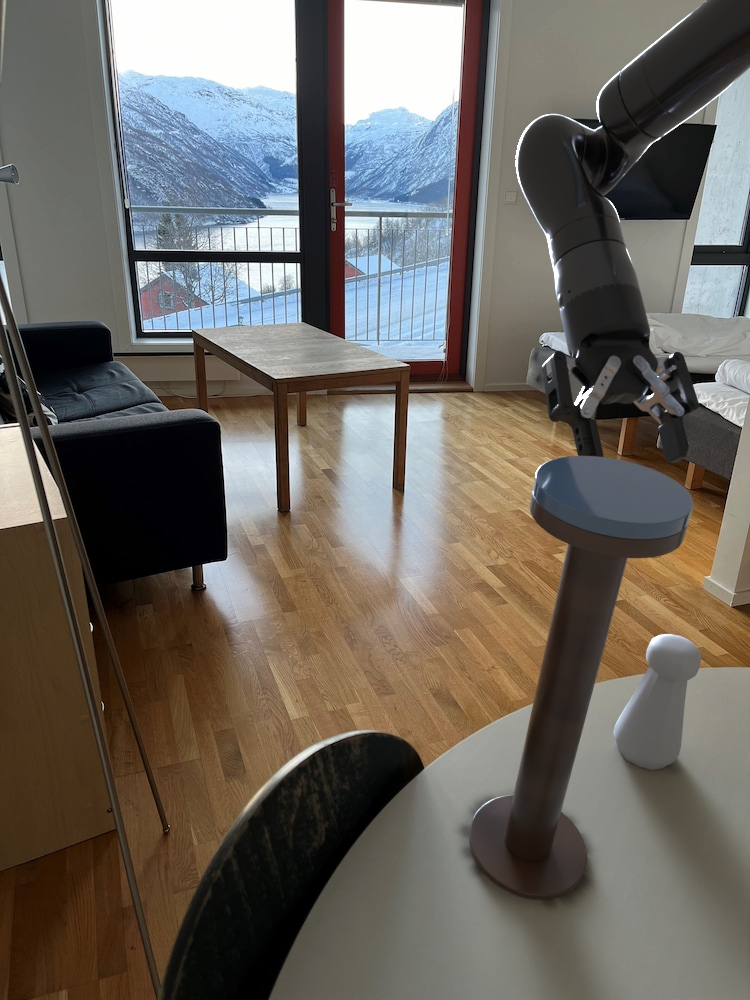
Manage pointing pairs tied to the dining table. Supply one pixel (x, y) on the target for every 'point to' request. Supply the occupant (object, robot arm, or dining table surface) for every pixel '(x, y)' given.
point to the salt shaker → (658, 704)
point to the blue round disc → (613, 497)
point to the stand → (558, 719)
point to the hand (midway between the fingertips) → (636, 461)
